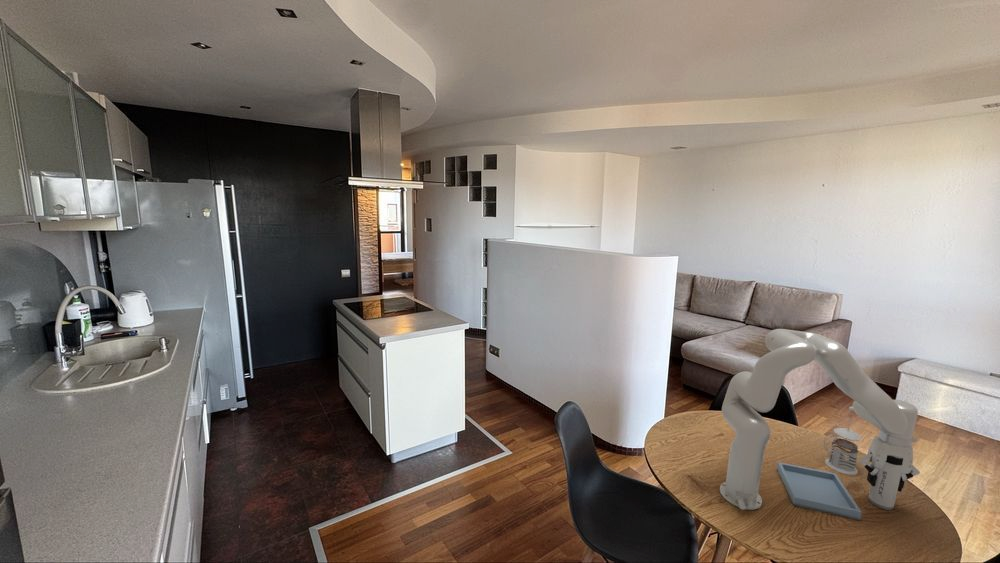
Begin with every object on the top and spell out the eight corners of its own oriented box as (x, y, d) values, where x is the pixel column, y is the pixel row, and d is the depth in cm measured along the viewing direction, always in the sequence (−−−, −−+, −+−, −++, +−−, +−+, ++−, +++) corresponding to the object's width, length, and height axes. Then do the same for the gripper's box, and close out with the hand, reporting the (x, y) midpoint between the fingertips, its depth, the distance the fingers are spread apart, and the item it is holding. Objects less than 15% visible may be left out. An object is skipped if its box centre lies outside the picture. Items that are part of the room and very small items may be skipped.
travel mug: (882, 496, 139) (893, 444, 135) (898, 511, 132) (911, 457, 128) (862, 495, 139) (873, 443, 135) (878, 509, 133) (890, 455, 129)
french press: (864, 476, 149) (877, 415, 144) (828, 472, 151) (840, 411, 146) (847, 460, 158) (859, 401, 154) (814, 456, 161) (824, 398, 156)
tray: (860, 520, 128) (861, 512, 128) (793, 505, 134) (794, 497, 134) (834, 480, 146) (835, 473, 146) (776, 468, 153) (777, 461, 152)
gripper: (922, 437, 131) (910, 485, 135) (856, 426, 137) (847, 473, 141) (936, 450, 124) (924, 500, 128) (867, 438, 130) (857, 487, 134)
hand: (884, 485), depth 134 cm, fingers closed on travel mug, 6 cm apart
